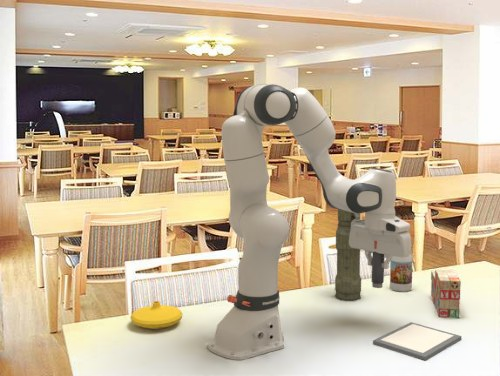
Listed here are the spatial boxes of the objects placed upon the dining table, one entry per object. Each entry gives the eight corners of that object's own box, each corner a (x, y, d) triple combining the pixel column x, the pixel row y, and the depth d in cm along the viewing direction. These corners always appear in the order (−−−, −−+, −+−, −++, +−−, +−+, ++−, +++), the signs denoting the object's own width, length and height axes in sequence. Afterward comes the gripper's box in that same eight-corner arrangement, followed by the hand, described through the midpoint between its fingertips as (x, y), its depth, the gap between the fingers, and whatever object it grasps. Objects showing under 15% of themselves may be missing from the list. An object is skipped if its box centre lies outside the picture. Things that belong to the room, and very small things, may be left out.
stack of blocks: (430, 296, 207) (431, 262, 206) (449, 297, 206) (450, 262, 205) (438, 317, 187) (439, 279, 185) (459, 318, 185) (461, 280, 184)
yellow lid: (120, 329, 179) (119, 306, 179) (150, 313, 194) (150, 291, 193) (163, 337, 173) (163, 313, 172) (192, 320, 187) (191, 298, 186)
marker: (379, 289, 179) (380, 241, 178) (368, 286, 182) (370, 239, 180) (386, 286, 182) (388, 240, 180) (375, 284, 185) (377, 238, 183)
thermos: (347, 290, 215) (349, 194, 210) (368, 299, 204) (370, 198, 200) (327, 294, 211) (328, 196, 206) (347, 303, 200) (349, 200, 196)
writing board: (425, 360, 155) (425, 356, 155) (372, 343, 166) (372, 339, 166) (461, 339, 169) (461, 335, 168) (410, 325, 180) (411, 321, 180)
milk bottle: (385, 287, 219) (386, 233, 216) (404, 284, 221) (405, 231, 218) (396, 293, 211) (398, 237, 209) (415, 290, 214) (417, 236, 211)
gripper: (345, 218, 185) (343, 262, 186) (403, 228, 170) (401, 275, 172) (357, 216, 189) (355, 259, 191) (415, 225, 175) (413, 271, 176)
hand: (378, 266), depth 181 cm, fingers closed on marker, 4 cm apart
